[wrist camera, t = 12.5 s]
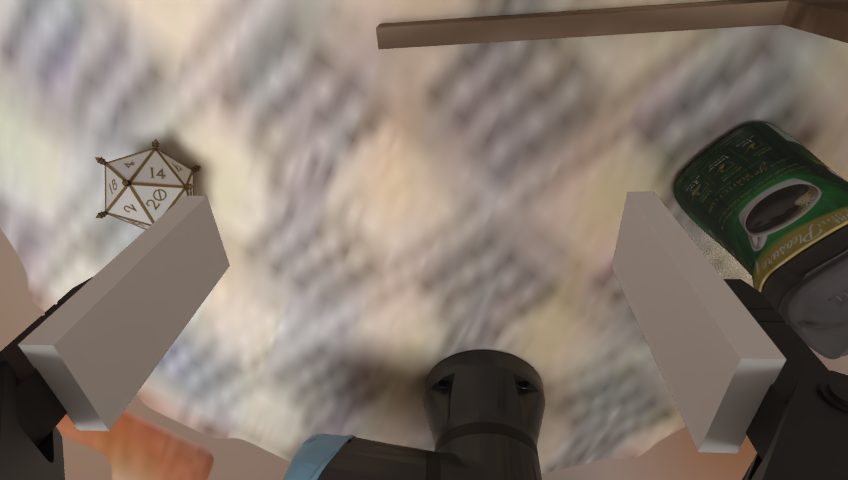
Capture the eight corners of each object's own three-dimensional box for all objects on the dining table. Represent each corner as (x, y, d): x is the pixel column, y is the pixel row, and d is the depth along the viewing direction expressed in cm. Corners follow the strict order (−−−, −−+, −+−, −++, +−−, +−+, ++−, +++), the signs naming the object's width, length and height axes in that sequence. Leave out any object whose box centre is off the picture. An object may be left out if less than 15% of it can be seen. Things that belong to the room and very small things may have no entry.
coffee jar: (707, 231, 45) (836, 389, 29) (656, 183, 42) (767, 327, 27) (809, 161, 40) (1026, 304, 25) (759, 102, 38) (963, 219, 22)
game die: (184, 139, 47) (136, 108, 37) (236, 204, 48) (201, 190, 38) (110, 190, 46) (41, 172, 36) (163, 256, 47) (109, 256, 37)
